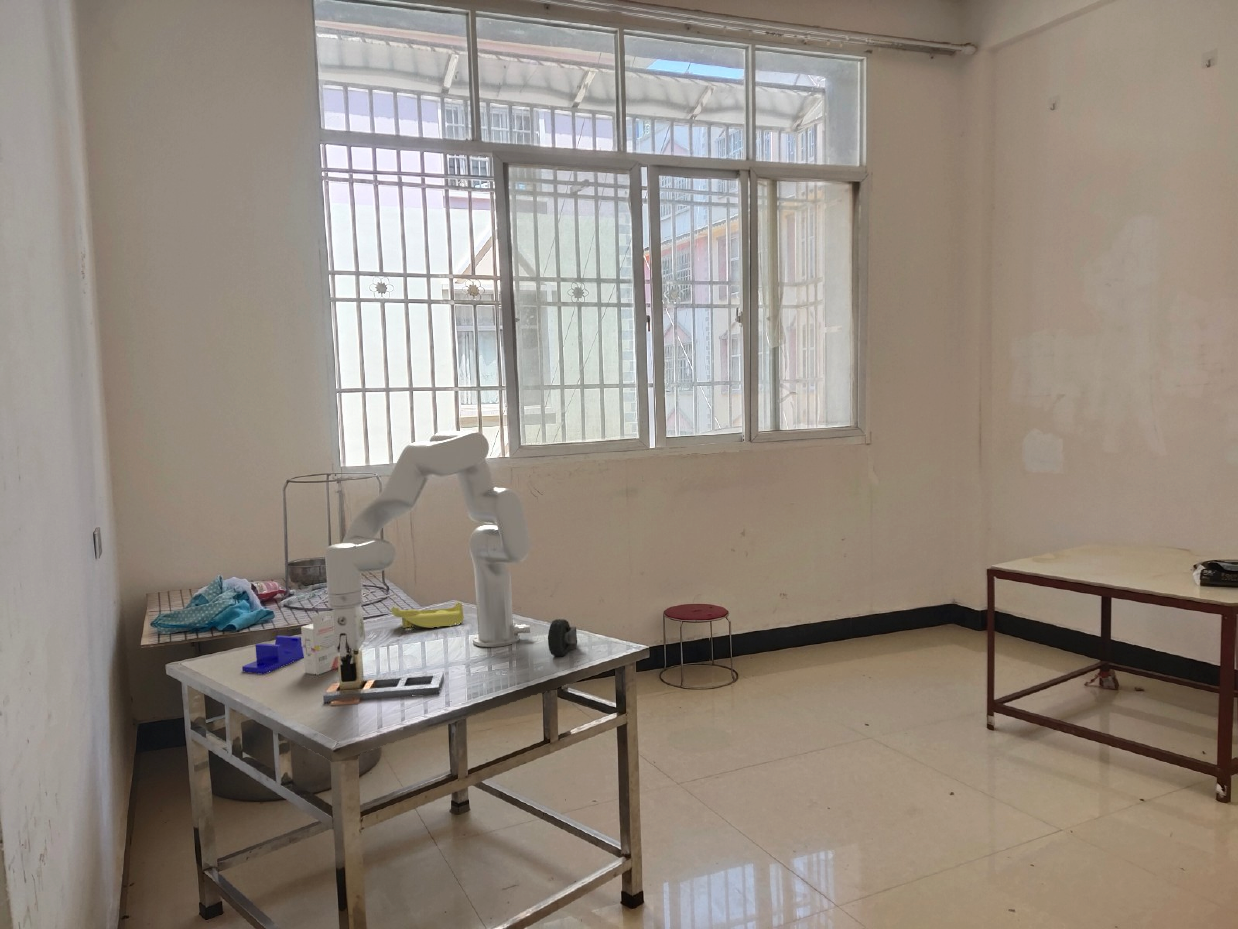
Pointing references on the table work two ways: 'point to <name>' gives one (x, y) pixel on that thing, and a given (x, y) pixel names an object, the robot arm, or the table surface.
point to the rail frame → (391, 692)
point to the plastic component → (430, 616)
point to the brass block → (359, 673)
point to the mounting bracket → (275, 654)
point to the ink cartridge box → (319, 645)
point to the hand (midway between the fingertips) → (351, 676)
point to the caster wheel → (561, 637)
